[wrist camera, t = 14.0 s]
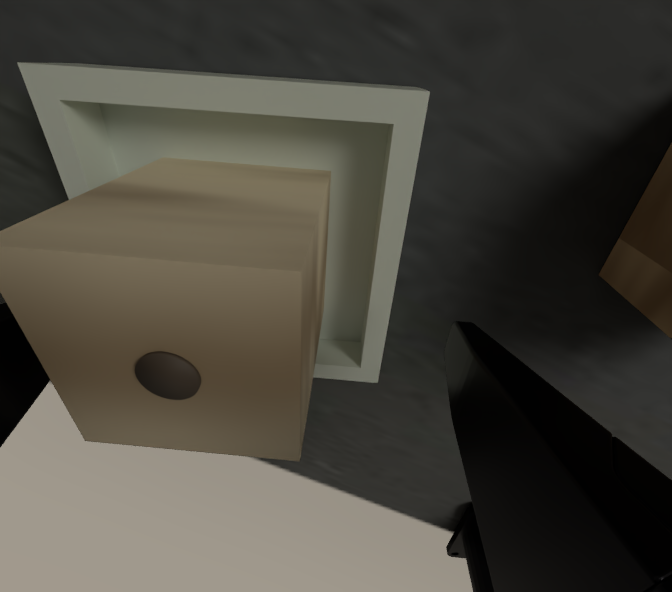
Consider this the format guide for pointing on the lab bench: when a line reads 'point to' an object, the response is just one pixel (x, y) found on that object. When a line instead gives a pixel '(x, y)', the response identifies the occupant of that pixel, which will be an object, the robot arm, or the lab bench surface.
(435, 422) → the lab bench surface
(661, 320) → the bored oak block
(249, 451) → the maple block
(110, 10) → the lab bench surface
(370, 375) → the tray
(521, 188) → the lab bench surface
